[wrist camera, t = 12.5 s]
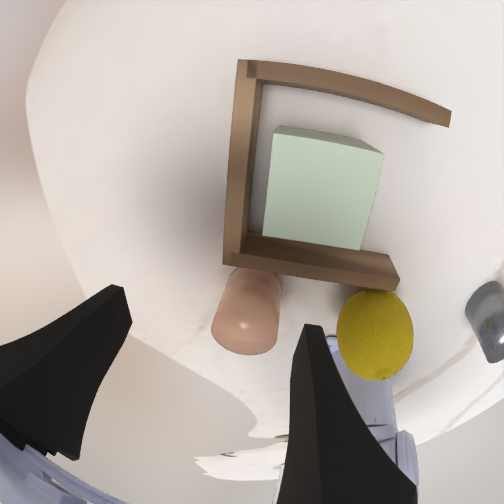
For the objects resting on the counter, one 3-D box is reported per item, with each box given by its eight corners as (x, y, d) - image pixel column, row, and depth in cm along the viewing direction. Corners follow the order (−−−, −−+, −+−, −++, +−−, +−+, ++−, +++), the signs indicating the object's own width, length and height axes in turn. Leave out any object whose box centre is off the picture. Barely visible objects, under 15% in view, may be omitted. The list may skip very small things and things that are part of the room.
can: (485, 320, 20) (505, 361, 15) (457, 318, 20) (477, 364, 15) (508, 283, 17) (535, 323, 12) (481, 278, 18) (510, 322, 12)
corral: (384, 266, 19) (394, 291, 16) (232, 241, 20) (222, 264, 17) (428, 107, 12) (451, 111, 10) (247, 66, 13) (237, 59, 11)
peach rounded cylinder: (277, 312, 23) (271, 359, 18) (226, 303, 23) (211, 348, 19) (286, 270, 20) (282, 317, 16) (228, 261, 21) (210, 305, 16)
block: (344, 212, 17) (359, 250, 13) (270, 200, 18) (262, 235, 13) (359, 139, 15) (384, 154, 10) (279, 125, 15) (273, 133, 11)
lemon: (407, 272, 19) (441, 351, 12) (382, 322, 22) (399, 399, 15) (343, 262, 19) (361, 347, 12) (324, 315, 22) (328, 398, 15)
